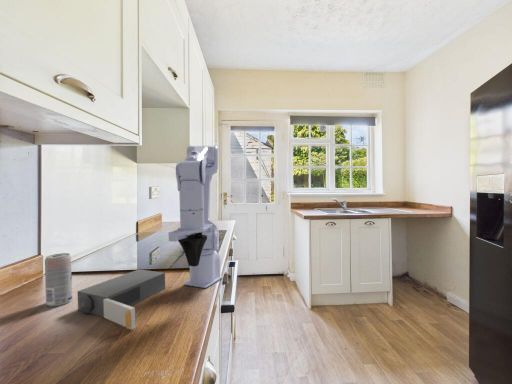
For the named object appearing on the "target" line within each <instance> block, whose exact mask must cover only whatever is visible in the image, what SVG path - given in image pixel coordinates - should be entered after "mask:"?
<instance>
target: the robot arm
mask: <svg viewBox="0 0 512 384" xmlns="http://www.w3.org/2000/svg"><path fill="white" fill-rule="evenodd" d="M186 148H187V149H186V157H185V158H184V160H180V161H179V163H178V162H177V163H176V165H175V178H176V183H177V191H178V192H179V222H180V223H179V224H180V226H179V227H177V229H175V230H173V231H170V232H168V242H173V243H175V242H178V243H179V244H180V246H181V248H182V249H183V252H184V255H185V258H186V261H187V264H188V267H189V280H187V281H185V282H183V285H185V286H191V287H195V288H196V287H197V288H203V289H206V288H208V287H211V286H212V285H213V284H215V283H217V282H218V281H220V280H222V279H224V277H223V275H221V257H220V254H219V253H218V252H217V250H219V232H218V231H219V229H218V226H217V224H216V223H214V222H213V221H212V220H210V212H211V211H210V209H211V208H210V204H211V184H212V183H211V182H212V178H213V175H215V174H216V173H218V170H219V149H218V148H219V147H218V146H217V145H215V144H214V145H188V146H187V147H186Z"/></svg>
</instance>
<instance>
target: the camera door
mask: <svg viewBox="0 0 512 384" xmlns="http://www.w3.org/2000/svg"><path fill="white" fill-rule="evenodd" d="M103 304H104V317H103V318H104V319H107V320H108V321H111V322H114V323H116V324H119V325H121V326H123V327H125V328H127V329H130V330H133V329H136V308H135V307H133V306H132V305H131V306H128V305H125V304H123V303H120V302H117V301H114V300H111V299H108V298H106V299H103Z"/></svg>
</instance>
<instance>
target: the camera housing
mask: <svg viewBox="0 0 512 384" xmlns="http://www.w3.org/2000/svg"><path fill="white" fill-rule="evenodd" d="M164 290H166V273H165V272H162V271H155V270H154V271H152V270H147V269H136V270H133V271H130V272H127V273H124V274H121V275H119V276H116V277H113V278H110V279H108V280H105V281H102V282H100V283H96V284H94V285H91V286H88V287H86V288H82V289H80V290H77V310H78V311H80V312H82V313H84V314H87V313H88V314H91V315H95V316H99V317H103V318H104V304H103V299H106V298H108V299H111V300H114V301H117V302H120V303H123V304H125V305H128V306H131V307H132V306H133V305H135V304H137V303H139V302H141V301H144V300H145V299H148V298H150V297H151V296H153V295H156V294H157V293H159V292H162V291H164Z"/></svg>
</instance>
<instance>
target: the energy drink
mask: <svg viewBox="0 0 512 384" xmlns="http://www.w3.org/2000/svg"><path fill="white" fill-rule="evenodd" d="M72 278H73V277H72V256H71V255H70V253H69V252H65V253H64V252H63V253H62V252H61V253H55V254H50V255H47V256H45V259H44V279H45V281H44V282H45V283H44V285H45V286H44V287H45V304H46V306H48V307H51V308H54V307H55V308H56V307H60V306H63V305H66V304H69V303H71V301H72V300H73V282H72V281H73V280H72Z"/></svg>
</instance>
